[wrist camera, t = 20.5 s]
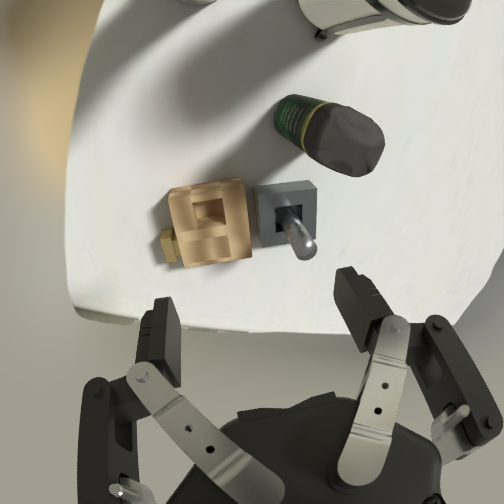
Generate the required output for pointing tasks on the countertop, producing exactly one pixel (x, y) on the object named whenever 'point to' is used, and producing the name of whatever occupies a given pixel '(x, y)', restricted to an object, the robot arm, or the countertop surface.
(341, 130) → the coffee jar
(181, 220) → the socket block
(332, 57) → the countertop surface
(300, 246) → the cylinder
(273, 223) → the grey square holed block
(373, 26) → the coffee press
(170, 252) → the block
